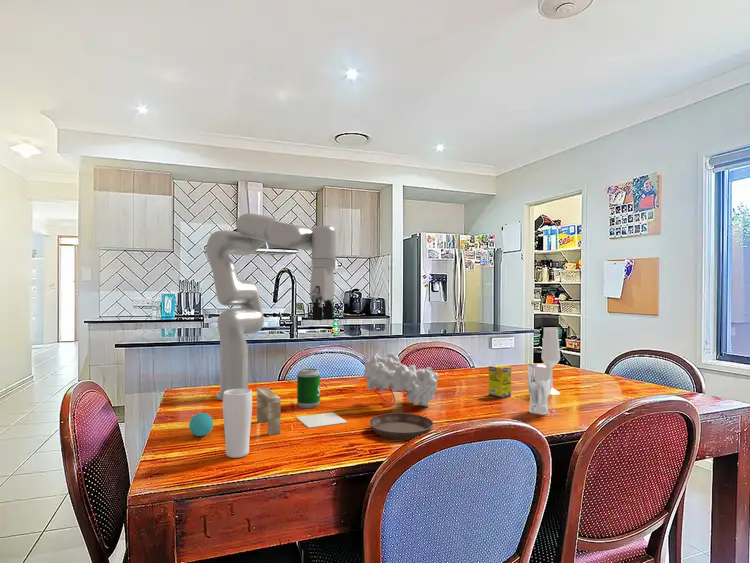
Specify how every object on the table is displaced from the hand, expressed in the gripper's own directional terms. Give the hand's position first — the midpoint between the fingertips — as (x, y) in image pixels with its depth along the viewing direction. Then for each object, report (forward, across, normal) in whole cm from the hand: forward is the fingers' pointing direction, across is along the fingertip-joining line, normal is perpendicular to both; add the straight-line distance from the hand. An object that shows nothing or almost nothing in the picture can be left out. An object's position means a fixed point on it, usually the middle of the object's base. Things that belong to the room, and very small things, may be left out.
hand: (322, 318), depth 153 cm
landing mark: (+30, +9, +3) cm, 31 cm away
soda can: (+30, -6, -7) cm, 31 cm away
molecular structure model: (+30, -14, +22) cm, 39 cm away
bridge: (+30, +19, -9) cm, 36 cm away
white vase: (+29, -17, +67) cm, 75 cm away
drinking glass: (+30, +41, -6) cm, 51 cm away
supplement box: (+30, -37, +55) cm, 72 cm away
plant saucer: (+30, +14, +28) cm, 43 cm away
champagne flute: (+29, -47, +74) cm, 92 cm away
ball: (+27, +31, -23) cm, 47 cm away
